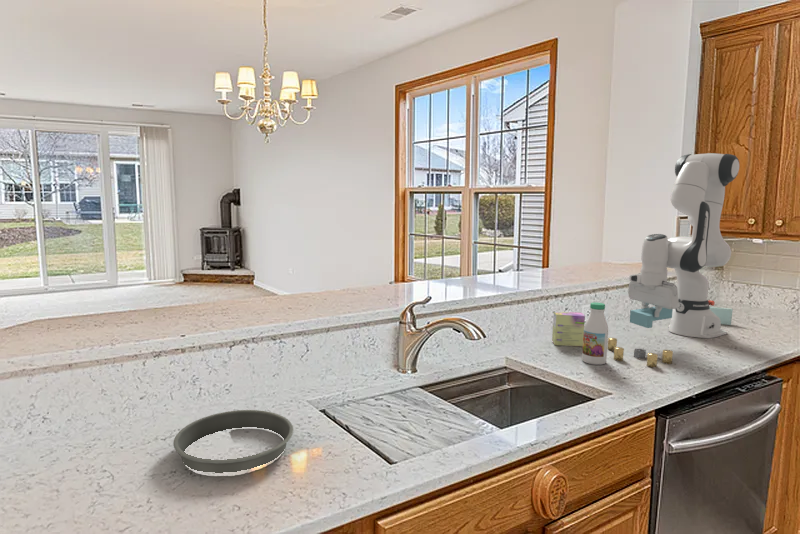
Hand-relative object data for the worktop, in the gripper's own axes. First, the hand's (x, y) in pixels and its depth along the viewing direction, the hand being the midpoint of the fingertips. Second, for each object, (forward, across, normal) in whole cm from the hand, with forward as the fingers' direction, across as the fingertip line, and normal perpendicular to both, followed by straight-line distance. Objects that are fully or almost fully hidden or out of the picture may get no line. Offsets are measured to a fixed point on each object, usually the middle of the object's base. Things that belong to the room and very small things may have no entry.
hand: (651, 315), depth 196 cm
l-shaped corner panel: (+15, +21, -59) cm, 65 cm away
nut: (+11, -9, +14) cm, 20 cm away
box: (+10, +12, +28) cm, 32 cm away
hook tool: (+2, -3, 0) cm, 3 cm away
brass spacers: (+11, -9, +17) cm, 22 cm away
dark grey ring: (+5, -32, +150) cm, 154 cm away
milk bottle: (+10, -8, +33) cm, 36 cm away
